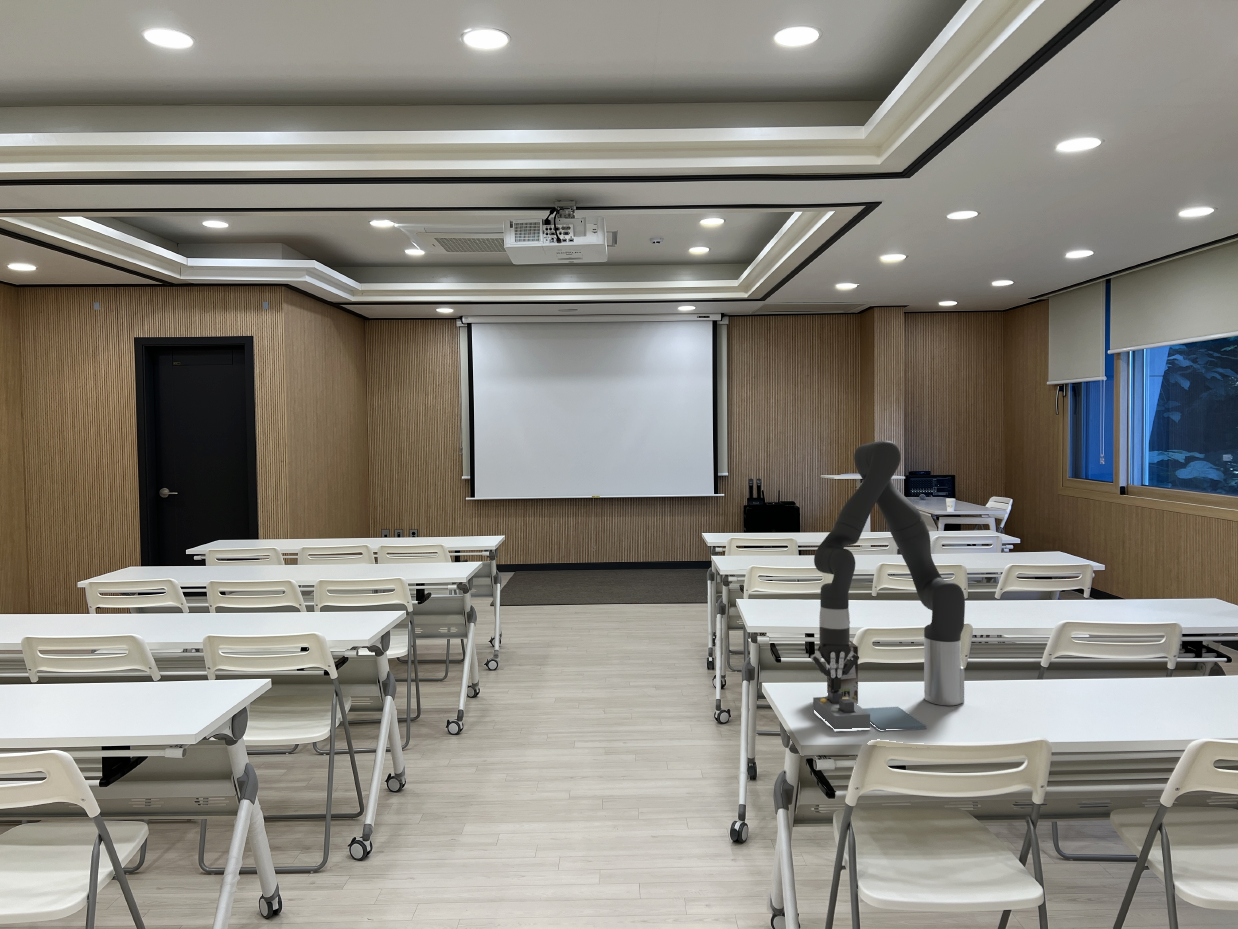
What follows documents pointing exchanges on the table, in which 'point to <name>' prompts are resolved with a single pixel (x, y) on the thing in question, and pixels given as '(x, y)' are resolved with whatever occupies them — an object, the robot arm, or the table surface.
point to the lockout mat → (893, 718)
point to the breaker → (846, 705)
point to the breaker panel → (841, 714)
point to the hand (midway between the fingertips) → (834, 691)
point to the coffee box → (850, 679)
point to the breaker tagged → (834, 697)
